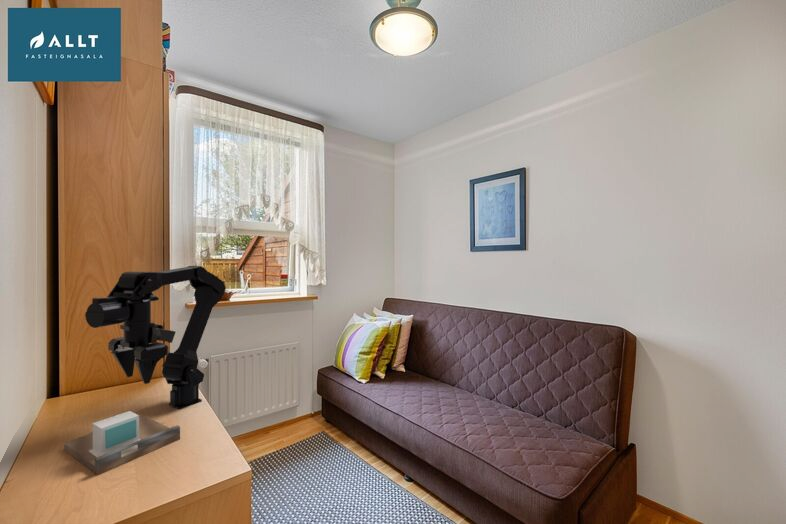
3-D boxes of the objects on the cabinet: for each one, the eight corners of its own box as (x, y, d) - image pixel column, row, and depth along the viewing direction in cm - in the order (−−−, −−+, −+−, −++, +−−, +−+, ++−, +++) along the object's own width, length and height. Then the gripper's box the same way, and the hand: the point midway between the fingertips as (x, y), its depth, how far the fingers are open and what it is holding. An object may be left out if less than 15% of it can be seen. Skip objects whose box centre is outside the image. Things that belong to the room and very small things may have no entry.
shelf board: (143, 420, 92) (143, 409, 92) (180, 439, 83) (180, 426, 83) (64, 449, 79) (63, 435, 78) (97, 475, 69) (97, 460, 69)
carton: (92, 450, 75) (92, 423, 75) (130, 436, 81) (129, 410, 81) (102, 457, 73) (101, 428, 73) (139, 441, 79) (139, 415, 79)
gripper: (189, 318, 91) (190, 377, 91) (153, 312, 101) (154, 365, 101) (141, 326, 82) (142, 391, 82) (107, 318, 91) (107, 377, 91)
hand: (138, 380), depth 89 cm, fingers open, 9 cm apart
